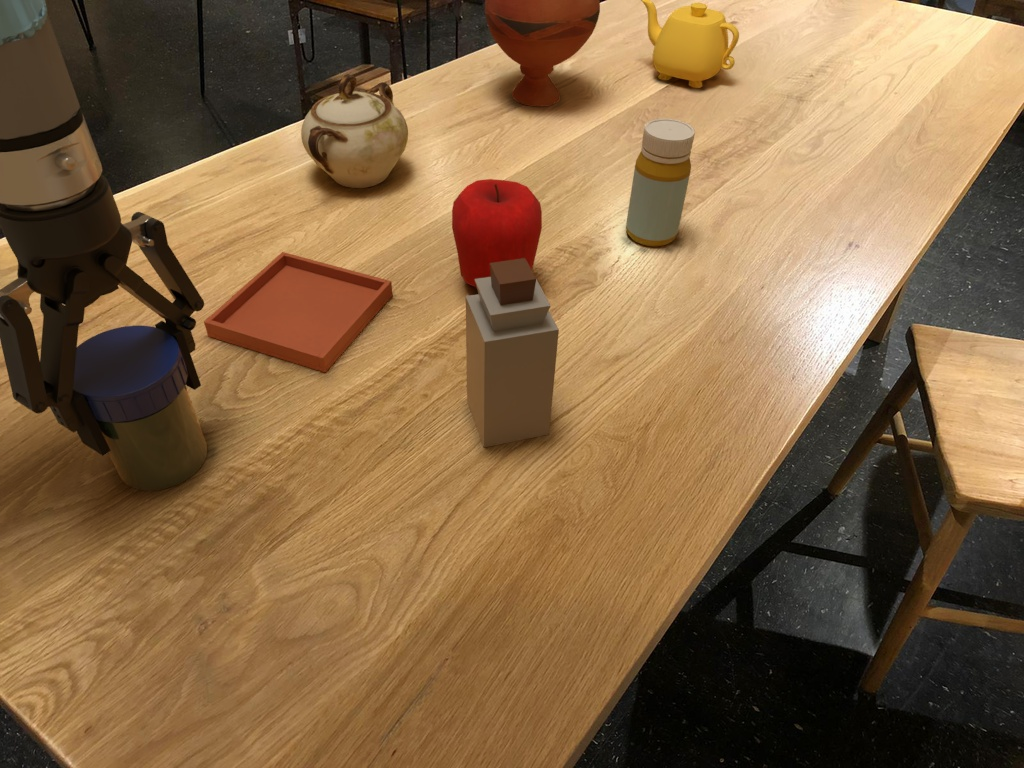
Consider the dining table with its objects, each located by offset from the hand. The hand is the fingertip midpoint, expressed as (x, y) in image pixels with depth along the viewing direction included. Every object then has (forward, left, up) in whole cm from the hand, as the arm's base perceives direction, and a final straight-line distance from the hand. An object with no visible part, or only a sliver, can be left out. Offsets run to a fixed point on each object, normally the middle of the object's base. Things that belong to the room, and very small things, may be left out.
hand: (144, 413), depth 68 cm
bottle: (+33, +58, -6) cm, 67 cm away
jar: (0, 0, -6) cm, 6 cm away
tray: (0, +24, -6) cm, 25 cm away
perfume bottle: (+28, +18, -6) cm, 34 cm away
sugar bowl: (-11, +56, -6) cm, 57 cm away
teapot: (+24, +116, -6) cm, 119 cm away
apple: (+18, +39, -6) cm, 43 cm away
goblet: (+3, +94, -6) cm, 94 cm away
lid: (0, 0, +6) cm, 6 cm away
